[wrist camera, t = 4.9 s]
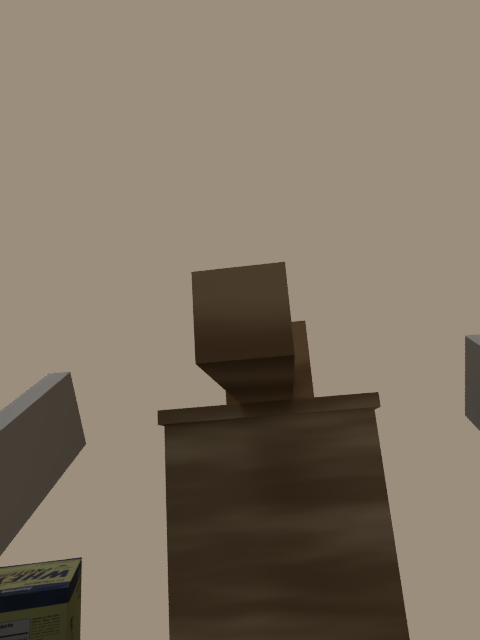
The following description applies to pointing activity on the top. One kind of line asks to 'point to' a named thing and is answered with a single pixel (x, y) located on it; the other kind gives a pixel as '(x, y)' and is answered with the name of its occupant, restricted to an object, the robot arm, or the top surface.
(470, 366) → the robot arm
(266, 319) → the mallet
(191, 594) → the block
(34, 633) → the protein box
